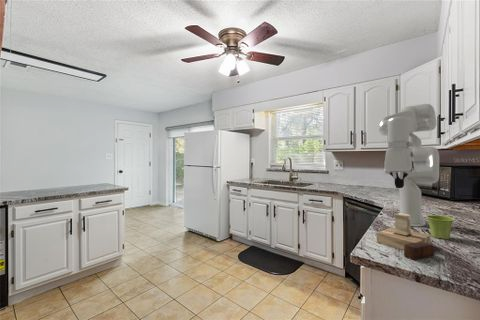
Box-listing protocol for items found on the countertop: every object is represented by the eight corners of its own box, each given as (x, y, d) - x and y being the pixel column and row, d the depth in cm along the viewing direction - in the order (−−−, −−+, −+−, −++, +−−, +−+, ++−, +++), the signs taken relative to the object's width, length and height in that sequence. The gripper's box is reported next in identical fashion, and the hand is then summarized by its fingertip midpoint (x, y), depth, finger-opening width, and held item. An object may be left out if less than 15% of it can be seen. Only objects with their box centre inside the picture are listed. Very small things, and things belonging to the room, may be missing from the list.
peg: (399, 241, 96) (399, 213, 96) (410, 244, 93) (410, 215, 93) (395, 243, 94) (394, 214, 94) (406, 246, 91) (406, 216, 90)
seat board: (392, 235, 103) (391, 227, 103) (430, 245, 91) (430, 235, 91) (376, 242, 95) (376, 232, 95) (416, 253, 84) (416, 242, 84)
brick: (415, 261, 78) (415, 248, 78) (403, 257, 81) (403, 244, 81) (435, 256, 81) (435, 243, 81) (423, 252, 85) (423, 240, 85)
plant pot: (420, 234, 104) (420, 215, 104) (437, 232, 106) (437, 214, 106) (443, 241, 95) (442, 221, 95) (460, 239, 97) (460, 219, 97)
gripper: (422, 144, 94) (423, 188, 95) (383, 146, 106) (384, 185, 107) (415, 145, 90) (416, 190, 90) (376, 146, 102) (377, 187, 103)
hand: (399, 187), depth 99 cm, fingers closed
